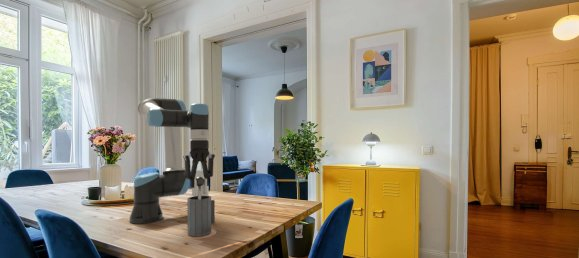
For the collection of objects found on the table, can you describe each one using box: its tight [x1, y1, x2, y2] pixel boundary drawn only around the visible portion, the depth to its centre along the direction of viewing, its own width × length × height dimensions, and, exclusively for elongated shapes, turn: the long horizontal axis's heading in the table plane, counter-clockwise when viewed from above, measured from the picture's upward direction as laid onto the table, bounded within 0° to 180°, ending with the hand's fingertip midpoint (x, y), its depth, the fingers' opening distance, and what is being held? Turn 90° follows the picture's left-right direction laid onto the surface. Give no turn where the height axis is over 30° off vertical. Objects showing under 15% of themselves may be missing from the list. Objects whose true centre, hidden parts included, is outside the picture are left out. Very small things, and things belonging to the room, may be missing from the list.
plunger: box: [195, 177, 204, 200], centre depth 121 cm, size 6×6×19 cm
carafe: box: [186, 195, 216, 237], centre depth 121 cm, size 10×12×15 cm
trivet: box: [181, 228, 218, 240], centre depth 120 cm, size 14×14×1 cm
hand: (199, 194), depth 121 cm, fingers closed on plunger, 4 cm apart
